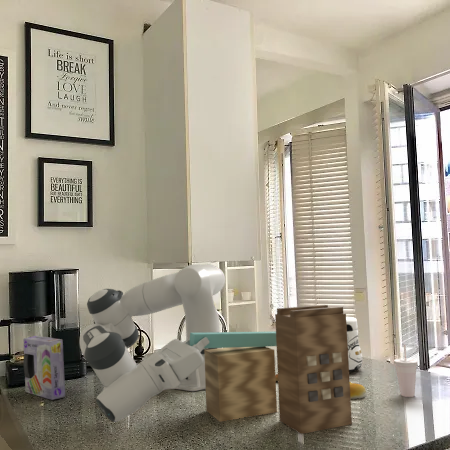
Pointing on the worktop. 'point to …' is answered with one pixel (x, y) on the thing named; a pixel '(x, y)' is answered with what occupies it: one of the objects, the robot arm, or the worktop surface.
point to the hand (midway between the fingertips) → (204, 337)
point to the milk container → (353, 344)
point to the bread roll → (357, 391)
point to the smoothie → (406, 375)
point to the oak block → (240, 382)
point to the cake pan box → (44, 367)
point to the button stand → (313, 368)
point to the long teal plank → (235, 339)
